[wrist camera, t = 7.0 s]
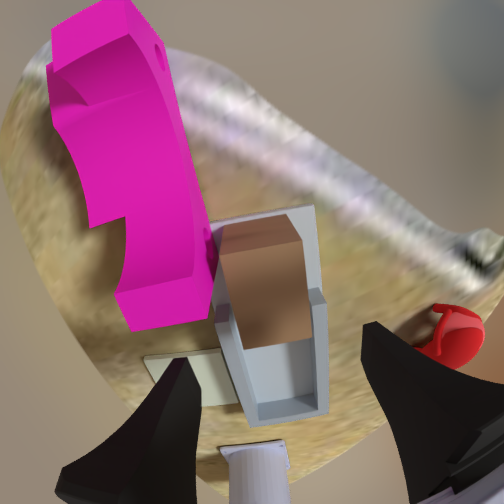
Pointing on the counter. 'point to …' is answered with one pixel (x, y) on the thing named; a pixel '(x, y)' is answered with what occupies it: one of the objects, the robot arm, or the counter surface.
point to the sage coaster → (201, 374)
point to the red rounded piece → (455, 336)
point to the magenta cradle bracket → (134, 160)
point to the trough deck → (281, 355)
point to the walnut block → (266, 281)
